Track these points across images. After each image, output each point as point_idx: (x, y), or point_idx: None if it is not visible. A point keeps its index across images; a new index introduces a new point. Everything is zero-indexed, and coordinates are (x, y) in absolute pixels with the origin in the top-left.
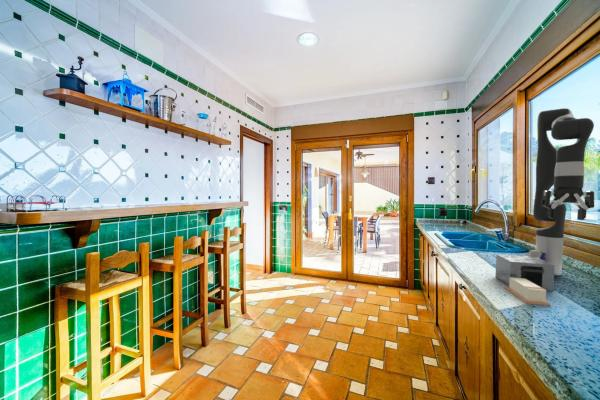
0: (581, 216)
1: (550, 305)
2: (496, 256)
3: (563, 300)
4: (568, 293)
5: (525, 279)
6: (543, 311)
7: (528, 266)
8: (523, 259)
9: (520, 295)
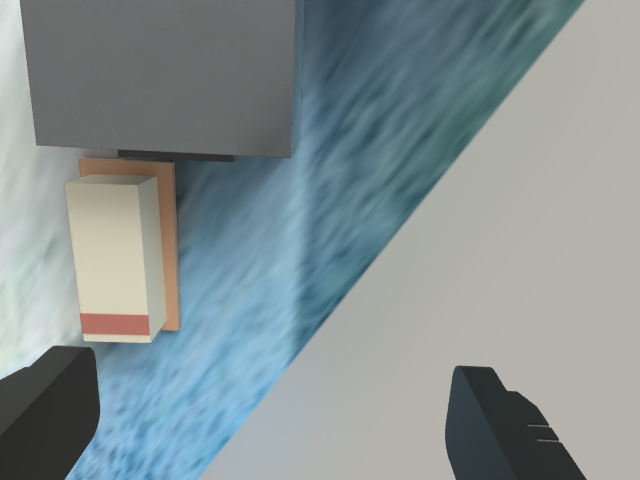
0: (459, 471)
1: (179, 327)
2: None
3: (269, 255)
4: (353, 157)
5: (132, 202)
6: (128, 378)
7: None
8: (153, 47)
9: None
